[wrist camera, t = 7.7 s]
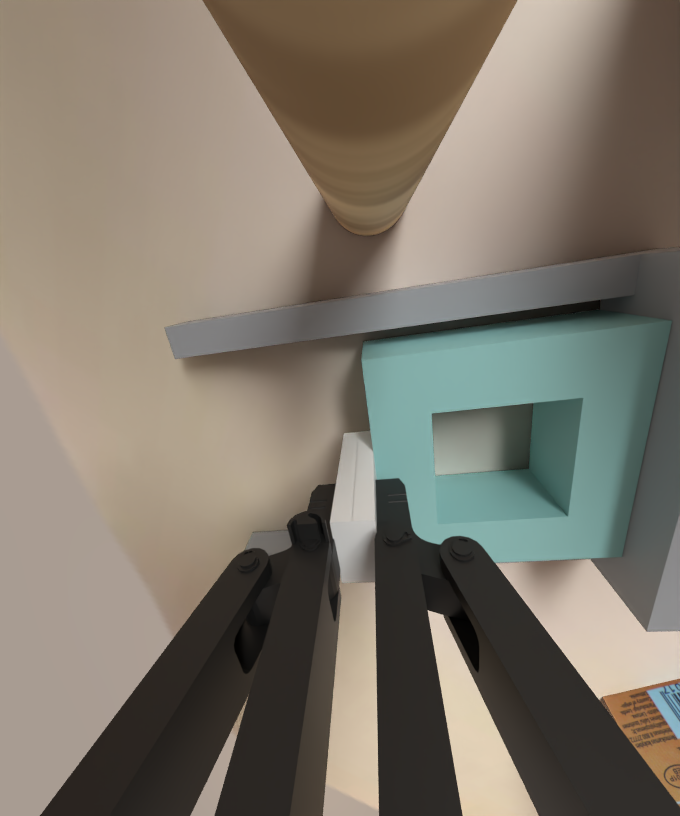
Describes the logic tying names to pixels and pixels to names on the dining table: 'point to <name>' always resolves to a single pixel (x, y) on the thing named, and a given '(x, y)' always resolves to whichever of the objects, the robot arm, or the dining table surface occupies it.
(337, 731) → the dining table surface
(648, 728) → the milk carton
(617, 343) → the teal square ring
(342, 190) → the dowel
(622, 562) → the track
